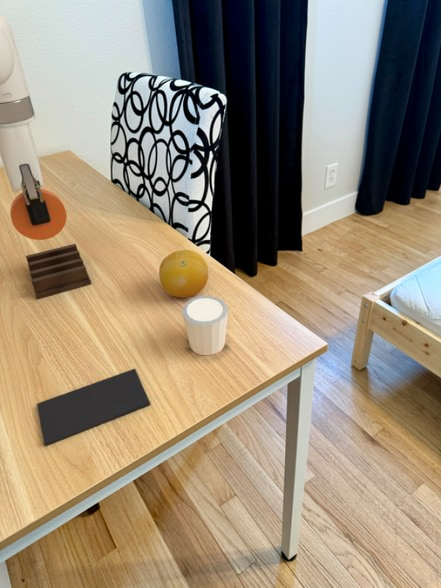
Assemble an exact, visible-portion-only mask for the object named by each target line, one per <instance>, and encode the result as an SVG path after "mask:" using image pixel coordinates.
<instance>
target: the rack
mask: <svg viewBox="0 0 441 588" xmlns="http://www.w3.org/2000/svg"><path fill="white" fill-rule="evenodd" d="M25 258H26V261H27V267H28V270H29V271H28V272H29V275H30V279H31V284H32V288H33V292H34V295H35V298H36V300H40V299H43V298H47V297H50V296H51V297H52V296H55V295H58V294H61V293H65V292H68V291H71V290H76V289H79V288H82V287H86V286H89V285H92V281H91V278H90V276H89V273H88V271H87V267H86V265H85V264H84V261H83V258H82V257H81V254H80V251H79V250H78V247H77V243H72V244H68V245H64V246H60V247H56V248H53V249H48V250H44V251H39V252H36V253H31V254H28V255H25Z"/></svg>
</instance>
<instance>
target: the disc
mask: <svg viewBox="0 0 441 588" xmlns="http://www.w3.org/2000/svg"><path fill="white" fill-rule="evenodd" d="M40 190H41V193H42V197H43V200H45V202H46V205H47V209H48V212H49V216H50V219H51V221H50V222H49V223H44V224H40V225H35V226H33V225H32V224H31V221H30V218H29V214H28V211H27V208H26V205H25V204H26V200H25V197H24V194H23V191H21V192H20V194H18V195H17V196H16V197H15V198H14V199H13V201H12V203H11V205H10V211H9V213H10V214H9V216H10V220H11V223H12V226H13V227H14V229H15V230H16V231H17V232H18V233H19V234H20V235H22V236H23V237H24V238H28V239H30V240H34V241H35V240H36V241H44V240H49V239H52V238H54V237H55V236H57V235H59V233H60V232H62V230H63V229H64V227H65V226H66V223H67V218H68V217H67V210H66V206H65V205H64V203H63V202H62V200H61V199H60V197H59V196H57V194H55V193H54V192H52V191H50V190H47V189H43V188H40ZM36 191H37V190H36ZM26 193H28V191H26Z"/></svg>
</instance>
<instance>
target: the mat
mask: <svg viewBox="0 0 441 588" xmlns="http://www.w3.org/2000/svg"><path fill="white" fill-rule="evenodd" d="M150 406H151V401H150V400H149V397H148V395H147V392H146V390H145V388H144V386H143V384H142V381H141V379H140V377H139V374H138V372H137V370H136V368H133V369H130V370H126V371H124V372H121V373H118V374H115V375H113V376H111V377H107V378H104V379H102V380H99V381H97V382H93V383H90V384H88V385H85V386H82V387H79V388H76V389H73V390H70V391H68V392H65V393H63V394H60V395H56V396H54V397H51V398H49V399H45V400H43V401H40V402H38V403H36V407H37V411H38V417H39V423H40V429H41V434H42V440H43V445H44V447H48V446H50V445H53V444H55V443H58V442H60V441H63V440H66V439H68V438H71V437H74V436H76V435H78V434H81V433H83V432H86V431H89V430H91V429H94V428H97V427H99V426H102V425H104V424H107V423H108V422H109V423H110V422H111V421H114V420H116V419H120V418H122V417H124V416H127V415H129V414H131V413H134V412H137V411H139V410H142V409H145V408H147V407H150Z"/></svg>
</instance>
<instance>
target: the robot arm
mask: <svg viewBox="0 0 441 588" xmlns="http://www.w3.org/2000/svg"><path fill="white" fill-rule="evenodd" d="M35 120H36V114H35V111H34V107H33V103H32V100H31V96H30V92H29V88H28V85H27V80H26V78H25V73H24V69H23V66H22V62H21V59H20V56H19V52H18V47H17V43H16V40H15V36H14V33H13V30H12V26H11V24H10V22H9V19H7V18H6V17H5V16H4V15H3V14H1V13H0V159H1V160H2V164H3V167H4V170H5V173H6V176H7V179H8V182H9V185H10V188H11V191H12V192H13V193H18V192H19V191H21V192H23V194H24V197H25V200H26V204H25V205H26V208H27V211H28V214H29V218H30V221H31V224H32V225H33V226H35V225H40V224H44V223H49V222H50V221H51V219H50V216H49V212H48V209H47V205H46V202H45V200H43V197H42V193H41V190H40V189H41V188H43V186H44V180H43V174H42V169H41V165H40V160H39V156H38V151H37V148H36V144H35V141H34V136H33V133H32V129H31V126H30V123H32V122H34V121H35ZM36 190H37V191H36ZM26 191H28V193H26Z"/></svg>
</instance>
